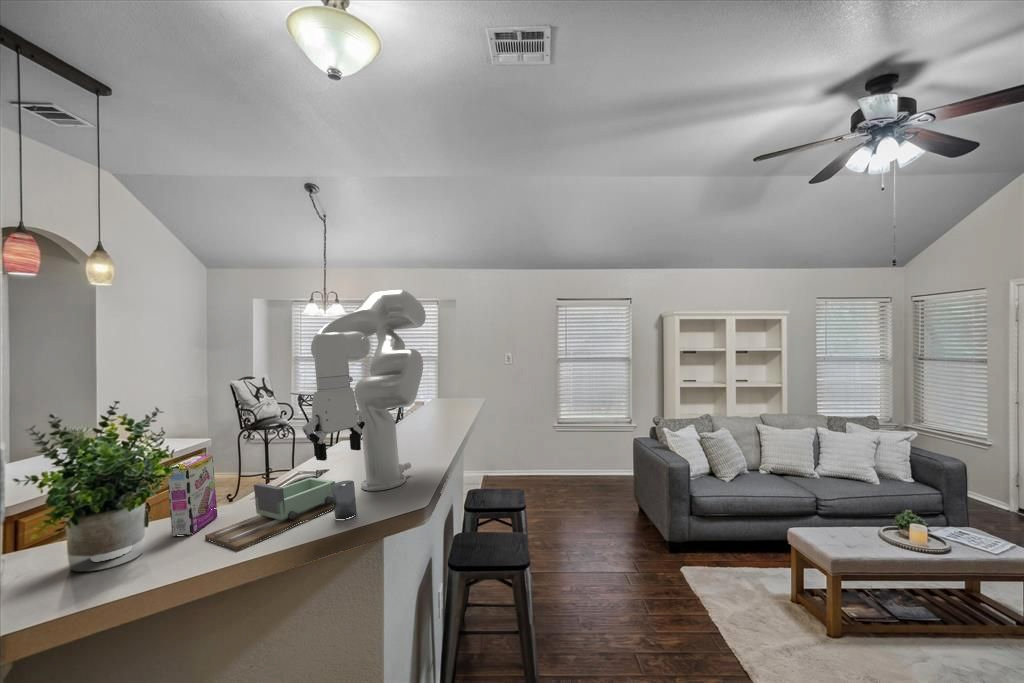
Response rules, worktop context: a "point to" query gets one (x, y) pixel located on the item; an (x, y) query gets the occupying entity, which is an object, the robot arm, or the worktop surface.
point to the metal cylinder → (344, 499)
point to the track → (261, 528)
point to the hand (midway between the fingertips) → (339, 454)
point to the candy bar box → (192, 495)
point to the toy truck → (292, 497)
